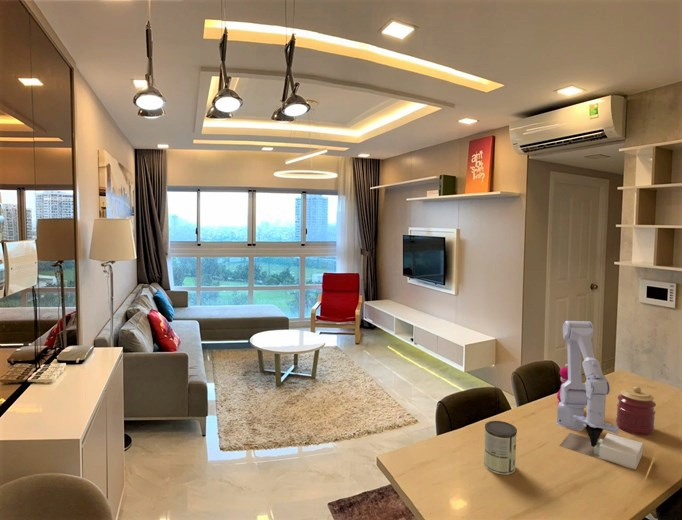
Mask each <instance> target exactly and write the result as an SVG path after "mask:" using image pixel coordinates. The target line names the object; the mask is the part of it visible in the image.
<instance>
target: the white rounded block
mask: <svg viewBox="0 0 682 520" xmlns="http://www.w3.org/2000/svg"><path fill="white" fill-rule="evenodd" d="M602 439H603V441H602V443H601V444H600V448H599V458H601V459H604V460H607V461H611V462H614V463H617V464H620V465H623V466H626V467H629V468H632V469H635V471H636V470H637V467H638V466H639V464H638V463H640V461H641V458H642V456H643V455H642V454H643V449H644V448H643V447H644V446H643V445H644V443H643V442H640V441H637V440H634V439H630V438H626V437H623V436H620V435H618V434H613V433H609V432H607V434H606V435H605V437H604V438H602ZM601 459H600V460H601ZM604 460H603V461H604ZM607 461H606V462H607Z"/></svg>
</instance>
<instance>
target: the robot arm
mask: <svg viewBox="0 0 682 520" xmlns="http://www.w3.org/2000/svg"><path fill="white" fill-rule="evenodd" d="M594 330H595V328H594V324H593V322H591V321H589V320H587V321H583V320H565V321H564V323H563V324H562V338H563V340H564V341H566V347H567V349H566V351H567V353H566V355H567V364H568V381H566V382H565V383H563V384H562V383H561V385H560V388H561V391H560V399H561V402H559V404H558V403H557V412H556V425H557V426H560V427H565V428H567V429H571V430H574V431H578V432H582V431H583V430H584V429H585V431H586V433H587V435H588V438H590V441H591V446H593V447H595V445H596V444H597V441H599V439H600V436H601V434H602V433H603V431H607V432H611V433H614V435H618V433H619V429H620V428H619V427H618V426H617V425H616V426H615V425H612V424H611V423H608V422H605V417H606V415H605V414H606V401H607V399H606V397H607V396H608V395H609V394H610V391H611V389H610V388H611V387H610V382H609V380H608V378H606V376H605V375H604V374H603V371H602V368H601V363H600V361H599V360H598V359H596V358H595V354H594V349H593V348H594V347H593V344H592V339H593V336H594ZM581 354H582V355H581ZM582 357H583V361H582ZM582 369H583V373H584V375H585V379H586V381H585V383H583V382H582ZM585 408H586V416H585Z"/></svg>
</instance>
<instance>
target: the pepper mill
mask: <svg viewBox="0 0 682 520" xmlns="http://www.w3.org/2000/svg"><path fill="white" fill-rule="evenodd" d="M559 375H560V381H561V385H562V384H563V383H565V382H566V381H568V363H565V366H563V367H561V368H560V370H559ZM560 391H561V387H560V389H559V390H558V391H557V395H556V398H557V405H558V404H559V402H561V399H560Z"/></svg>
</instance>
